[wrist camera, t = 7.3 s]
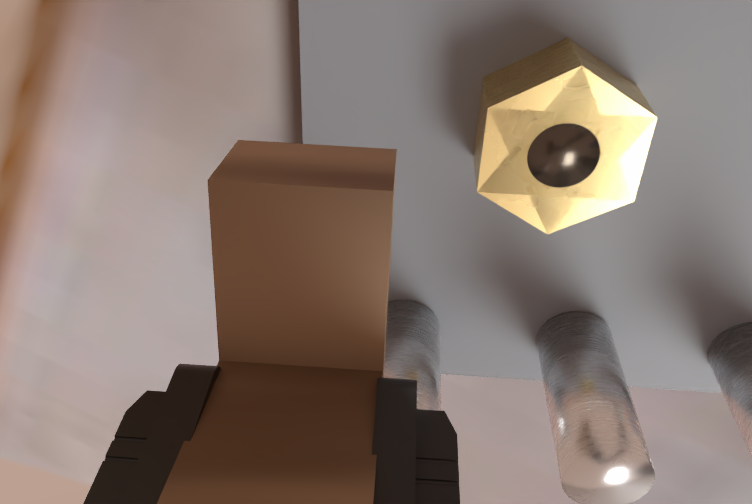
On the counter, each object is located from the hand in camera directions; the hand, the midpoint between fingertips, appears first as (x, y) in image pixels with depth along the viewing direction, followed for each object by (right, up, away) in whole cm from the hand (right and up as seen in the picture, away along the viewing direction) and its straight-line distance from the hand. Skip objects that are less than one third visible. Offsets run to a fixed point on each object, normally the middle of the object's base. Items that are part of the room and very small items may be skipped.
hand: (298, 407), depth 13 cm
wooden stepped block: (0, 0, +2) cm, 2 cm away
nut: (+7, +7, +11) cm, 15 cm away
